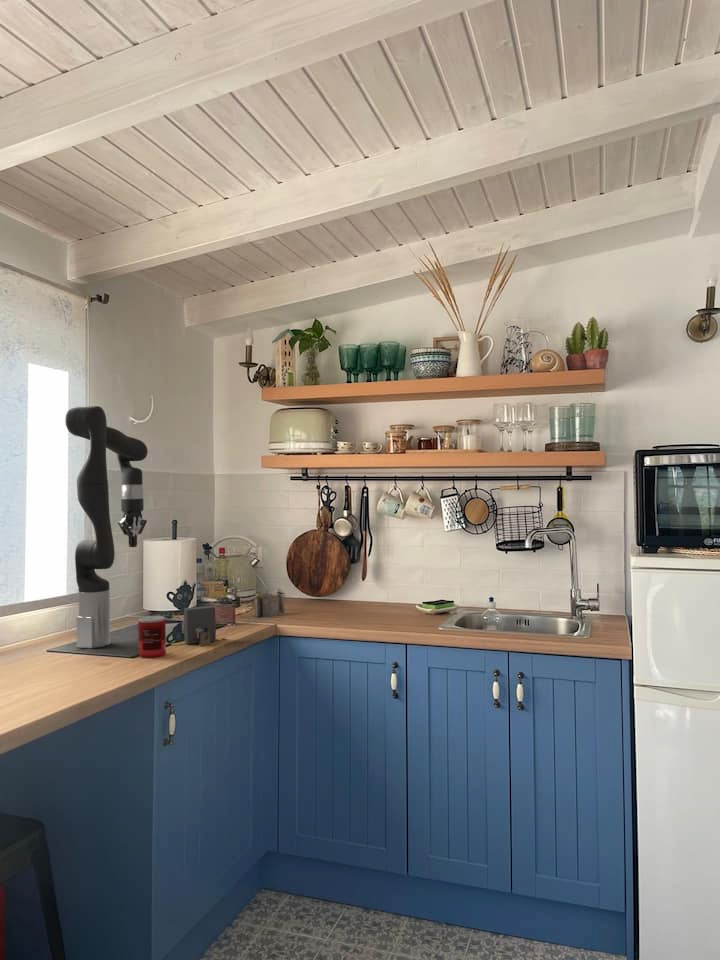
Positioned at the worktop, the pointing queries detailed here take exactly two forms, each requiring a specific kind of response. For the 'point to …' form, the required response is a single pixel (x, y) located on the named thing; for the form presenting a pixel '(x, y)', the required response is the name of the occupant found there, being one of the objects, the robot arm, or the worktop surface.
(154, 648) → the canned food
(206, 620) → the block
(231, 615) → the lighter
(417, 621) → the worktop surface
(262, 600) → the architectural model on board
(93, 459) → the robot arm
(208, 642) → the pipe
